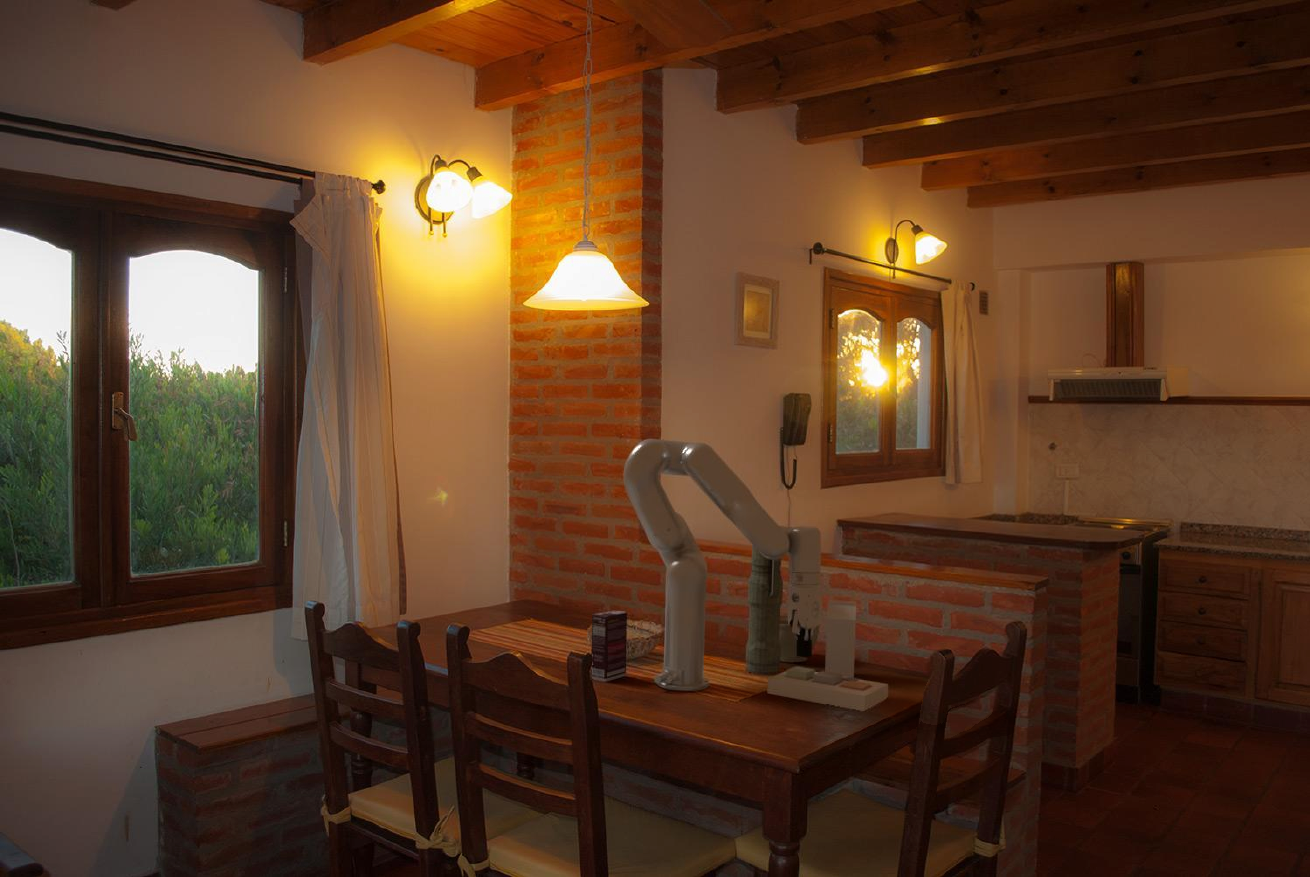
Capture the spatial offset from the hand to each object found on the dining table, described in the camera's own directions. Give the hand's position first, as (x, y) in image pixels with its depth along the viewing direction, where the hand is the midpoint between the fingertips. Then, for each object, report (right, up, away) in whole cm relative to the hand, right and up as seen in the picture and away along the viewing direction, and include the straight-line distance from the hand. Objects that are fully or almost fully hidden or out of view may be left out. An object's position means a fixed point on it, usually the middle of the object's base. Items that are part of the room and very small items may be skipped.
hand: (804, 656), depth 238 cm
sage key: (-1, -6, 0) cm, 6 cm away
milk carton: (+12, -9, +18) cm, 23 cm away
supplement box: (-47, -7, +7) cm, 48 cm away
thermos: (-8, -8, +20) cm, 23 cm away
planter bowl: (+1, -9, +35) cm, 36 cm away
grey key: (+5, -6, -4) cm, 9 cm away
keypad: (+5, -9, -4) cm, 11 cm away
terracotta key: (+11, -7, -8) cm, 15 cm away
